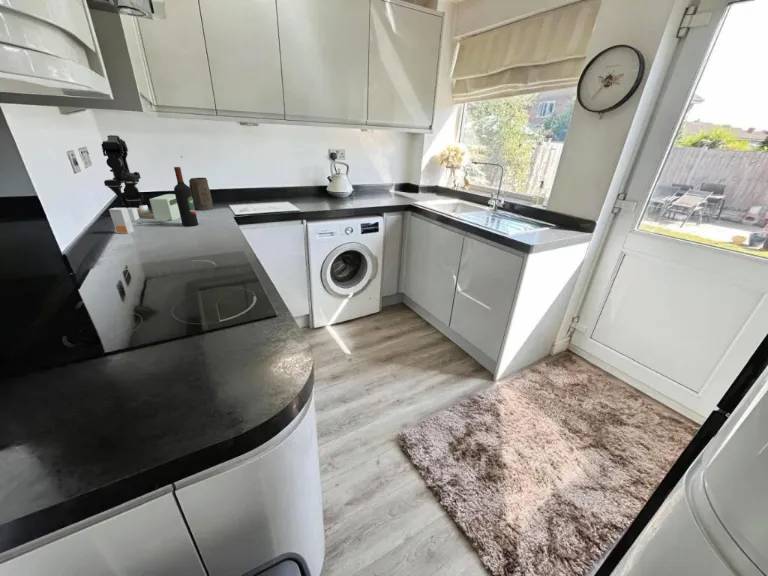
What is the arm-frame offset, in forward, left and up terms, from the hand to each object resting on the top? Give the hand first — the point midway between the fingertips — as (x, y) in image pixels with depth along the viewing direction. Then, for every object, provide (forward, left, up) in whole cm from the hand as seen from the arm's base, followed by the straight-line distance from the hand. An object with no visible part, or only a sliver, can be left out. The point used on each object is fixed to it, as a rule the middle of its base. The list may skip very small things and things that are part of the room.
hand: (127, 197), depth 177 cm
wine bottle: (+8, +35, -13) cm, 38 cm away
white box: (0, 0, -13) cm, 13 cm away
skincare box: (+24, +11, -13) cm, 29 cm away
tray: (-10, +2, -13) cm, 16 cm away
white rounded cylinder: (-13, -1, -12) cm, 17 cm away
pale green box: (-10, +15, -13) cm, 22 cm away
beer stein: (-36, +21, -13) cm, 44 cm away
